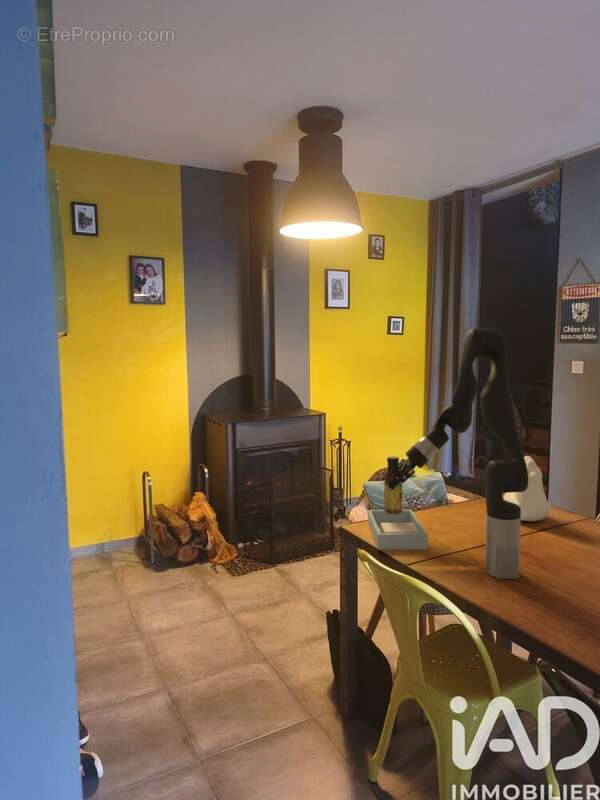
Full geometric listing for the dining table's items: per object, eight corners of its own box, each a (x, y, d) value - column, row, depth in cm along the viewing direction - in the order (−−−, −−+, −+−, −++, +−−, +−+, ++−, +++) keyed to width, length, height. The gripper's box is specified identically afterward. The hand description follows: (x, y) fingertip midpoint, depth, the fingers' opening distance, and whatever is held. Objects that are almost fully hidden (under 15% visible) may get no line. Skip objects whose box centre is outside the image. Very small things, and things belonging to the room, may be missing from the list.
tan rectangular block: (418, 546, 175) (418, 531, 174) (384, 546, 175) (384, 531, 174) (412, 536, 183) (412, 522, 183) (380, 536, 184) (380, 522, 183)
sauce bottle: (403, 515, 187) (403, 459, 185) (385, 515, 187) (385, 459, 185) (400, 509, 194) (400, 455, 191) (383, 509, 194) (383, 455, 191)
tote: (427, 552, 172) (427, 534, 172) (377, 552, 172) (377, 534, 172) (411, 525, 198) (411, 509, 197) (368, 525, 198) (368, 510, 198)
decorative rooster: (553, 528, 194) (556, 460, 191) (507, 525, 197) (509, 459, 195) (539, 507, 218) (541, 447, 216) (498, 505, 222) (500, 446, 219)
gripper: (410, 440, 195) (377, 473, 196) (419, 448, 181) (384, 483, 182) (424, 455, 196) (392, 487, 197) (434, 463, 181) (399, 498, 183)
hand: (388, 485), depth 189 cm, fingers closed on sauce bottle, 6 cm apart
